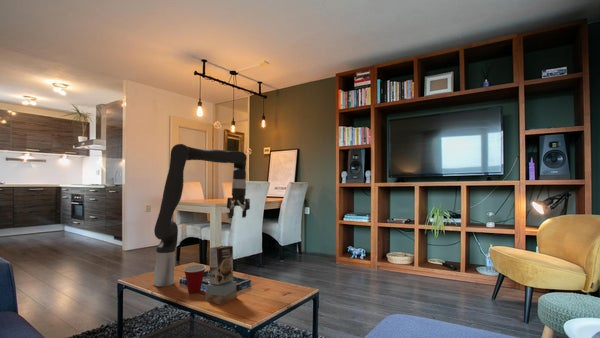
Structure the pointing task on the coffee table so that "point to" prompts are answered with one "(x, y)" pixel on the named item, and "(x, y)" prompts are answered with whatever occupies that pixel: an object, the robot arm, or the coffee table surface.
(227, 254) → the coffee box
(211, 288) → the tower top
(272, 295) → the coffee table surface
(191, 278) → the plastic cup
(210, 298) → the tower base
